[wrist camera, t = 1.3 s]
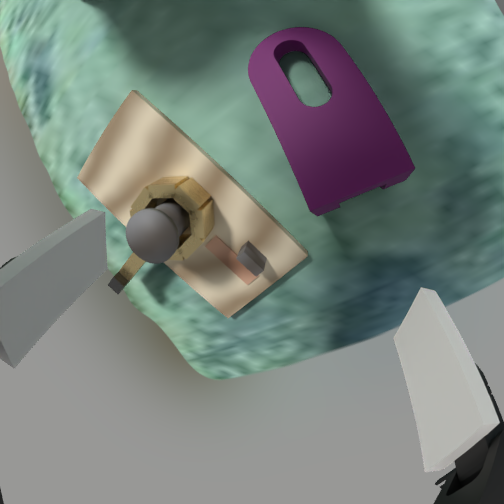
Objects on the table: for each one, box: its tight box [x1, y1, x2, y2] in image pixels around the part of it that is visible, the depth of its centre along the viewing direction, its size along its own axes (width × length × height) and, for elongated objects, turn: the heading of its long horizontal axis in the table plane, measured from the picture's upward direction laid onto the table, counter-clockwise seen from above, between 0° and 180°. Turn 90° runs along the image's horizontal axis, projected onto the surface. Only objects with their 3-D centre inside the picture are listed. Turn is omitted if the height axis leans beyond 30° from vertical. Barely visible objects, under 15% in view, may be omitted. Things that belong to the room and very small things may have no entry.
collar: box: [108, 176, 215, 294], centre depth 33 cm, size 16×8×5 cm, turn 136°
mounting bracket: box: [248, 27, 415, 216], centre depth 27 cm, size 10×8×18 cm
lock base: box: [77, 90, 308, 318], centre depth 31 cm, size 28×14×9 cm, turn 46°
